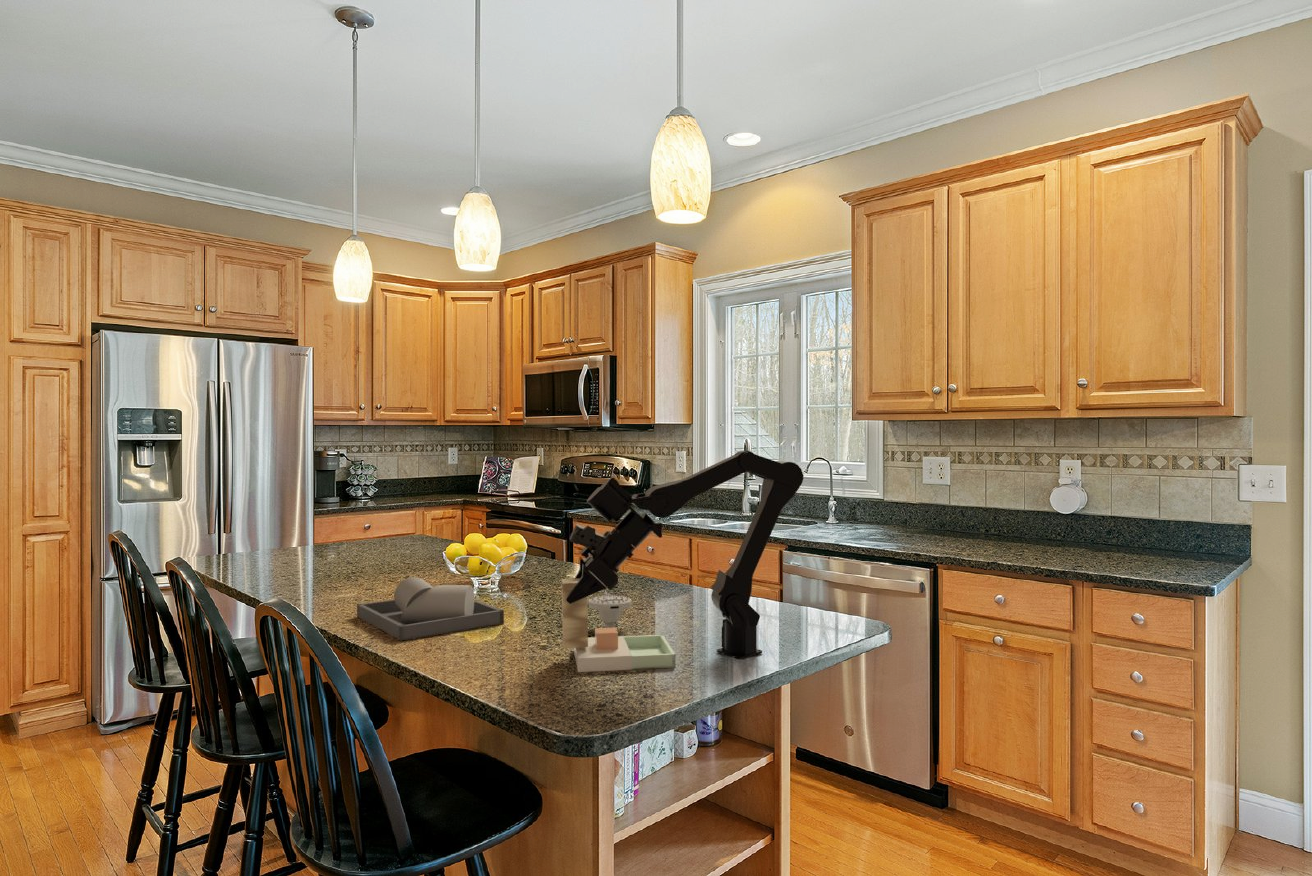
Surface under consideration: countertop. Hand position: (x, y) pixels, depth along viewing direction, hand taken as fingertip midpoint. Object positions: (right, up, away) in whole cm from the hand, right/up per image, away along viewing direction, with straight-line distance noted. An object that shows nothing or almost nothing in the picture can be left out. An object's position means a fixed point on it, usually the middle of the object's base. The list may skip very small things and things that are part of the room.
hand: (567, 599), depth 144 cm
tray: (+15, -12, +3) cm, 19 cm away
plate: (+6, -12, +1) cm, 13 cm away
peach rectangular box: (+7, -9, +1) cm, 12 cm away
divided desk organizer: (-35, -12, +32) cm, 49 cm away
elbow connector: (-35, -12, +32) cm, 49 cm away
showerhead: (+6, -12, +25) cm, 29 cm away
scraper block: (+1, -9, 0) cm, 9 cm away
